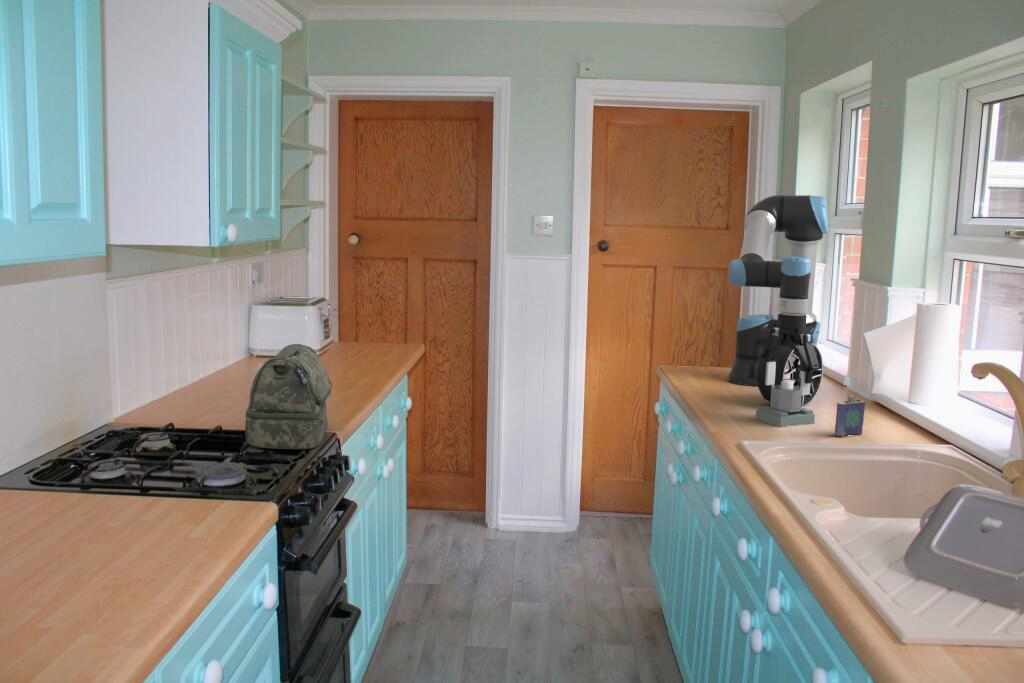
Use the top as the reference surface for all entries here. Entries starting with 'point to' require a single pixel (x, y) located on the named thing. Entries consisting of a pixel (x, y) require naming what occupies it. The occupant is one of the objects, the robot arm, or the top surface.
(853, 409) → the flask
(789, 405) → the block
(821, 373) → the wheel rim
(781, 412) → the shaft block
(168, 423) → the top surface
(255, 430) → the lunch bag
